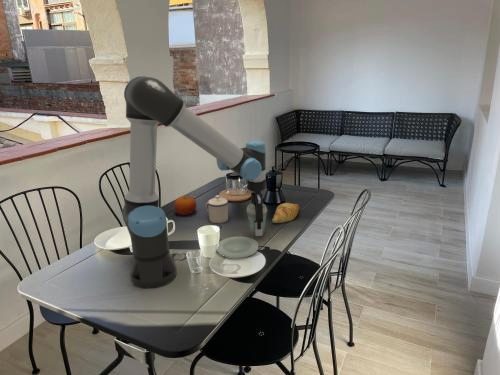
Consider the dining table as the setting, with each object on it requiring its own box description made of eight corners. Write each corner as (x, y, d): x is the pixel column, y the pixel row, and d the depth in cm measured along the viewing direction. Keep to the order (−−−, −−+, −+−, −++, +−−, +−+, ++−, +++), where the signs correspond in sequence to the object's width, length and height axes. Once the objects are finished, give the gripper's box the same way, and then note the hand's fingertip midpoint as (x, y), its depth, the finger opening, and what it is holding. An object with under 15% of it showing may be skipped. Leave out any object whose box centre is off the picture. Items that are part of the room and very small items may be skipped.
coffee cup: (249, 227, 159) (248, 202, 155) (268, 229, 158) (268, 203, 154) (245, 236, 151) (244, 209, 148) (265, 238, 150) (265, 210, 146)
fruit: (170, 214, 175) (168, 198, 173) (185, 207, 184) (184, 192, 181) (186, 219, 170) (185, 203, 167) (201, 211, 178) (200, 196, 175)
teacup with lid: (232, 218, 169) (231, 194, 166) (219, 225, 162) (218, 200, 159) (213, 213, 176) (212, 190, 172) (200, 219, 169) (198, 195, 165)
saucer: (217, 262, 132) (217, 257, 132) (215, 241, 147) (215, 238, 147) (261, 257, 135) (261, 253, 134) (254, 238, 150) (254, 234, 149)
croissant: (278, 233, 161) (286, 221, 157) (262, 219, 165) (268, 206, 160) (302, 216, 177) (309, 204, 173) (286, 204, 181) (293, 192, 176)
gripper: (270, 186, 138) (270, 241, 145) (261, 171, 157) (261, 220, 164) (251, 188, 137) (252, 243, 144) (243, 173, 156) (245, 222, 163)
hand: (257, 231), depth 154 cm, fingers closed on coffee cup, 8 cm apart
